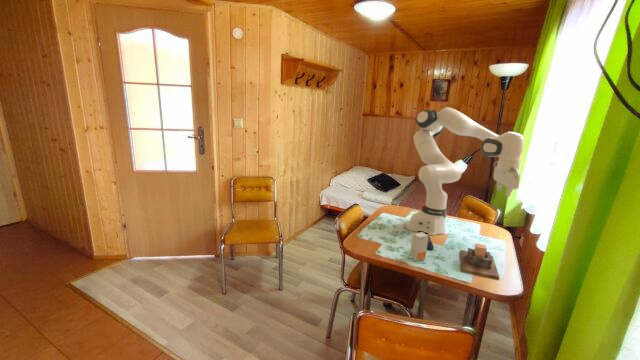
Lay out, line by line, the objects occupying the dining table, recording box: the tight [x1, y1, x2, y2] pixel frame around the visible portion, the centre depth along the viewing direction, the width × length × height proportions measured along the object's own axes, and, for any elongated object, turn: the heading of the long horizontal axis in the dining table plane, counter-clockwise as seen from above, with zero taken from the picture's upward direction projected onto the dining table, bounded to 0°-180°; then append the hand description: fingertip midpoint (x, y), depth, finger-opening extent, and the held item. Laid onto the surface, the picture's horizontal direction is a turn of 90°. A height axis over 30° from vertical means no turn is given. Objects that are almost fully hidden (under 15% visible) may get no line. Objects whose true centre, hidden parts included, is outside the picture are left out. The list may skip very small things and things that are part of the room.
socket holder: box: [459, 247, 500, 280], centre depth 136 cm, size 14×20×5 cm
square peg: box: [474, 243, 487, 258], centre depth 135 cm, size 4×4×8 cm
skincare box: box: [409, 232, 430, 261], centre depth 139 cm, size 6×4×12 cm
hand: (503, 193), depth 148 cm, fingers open, 8 cm apart
